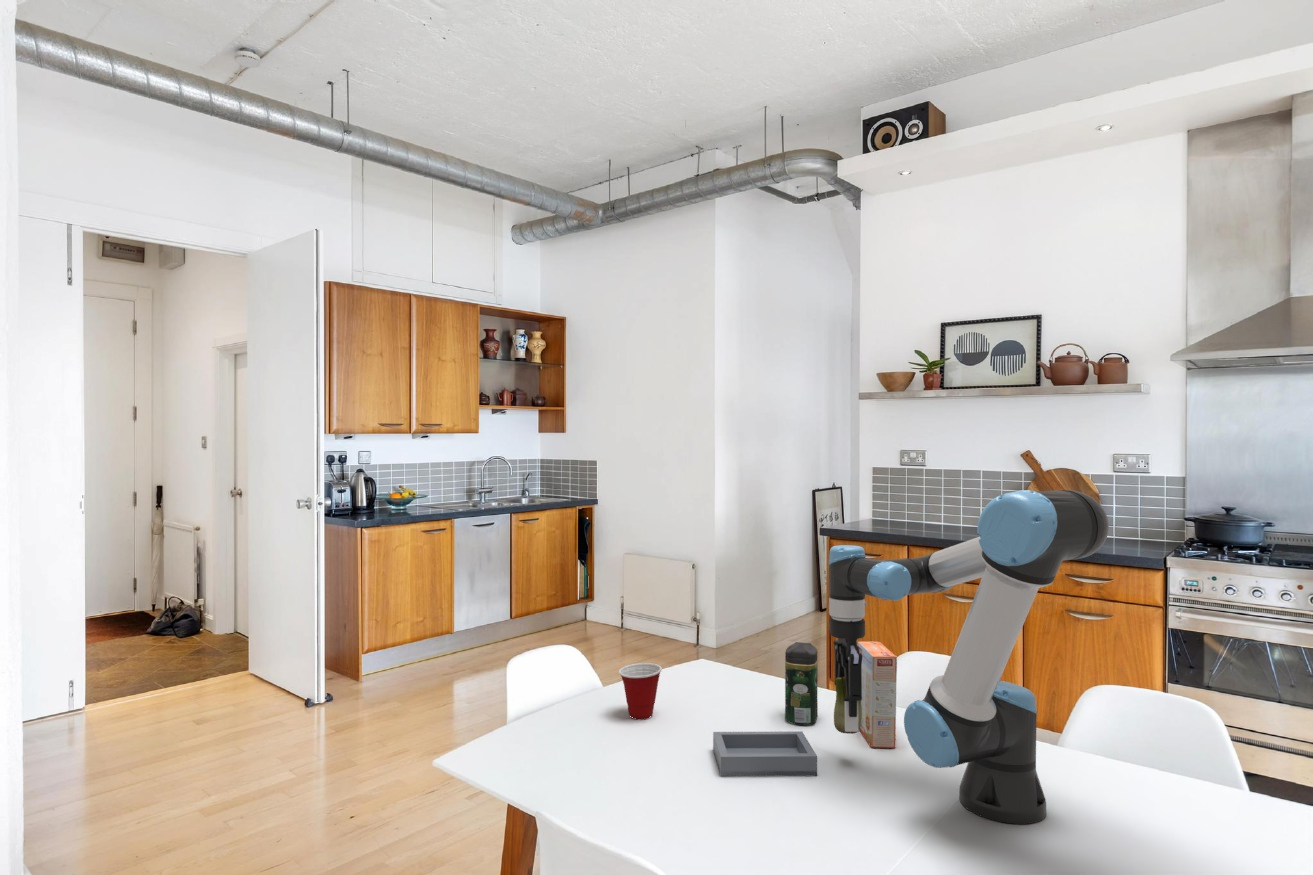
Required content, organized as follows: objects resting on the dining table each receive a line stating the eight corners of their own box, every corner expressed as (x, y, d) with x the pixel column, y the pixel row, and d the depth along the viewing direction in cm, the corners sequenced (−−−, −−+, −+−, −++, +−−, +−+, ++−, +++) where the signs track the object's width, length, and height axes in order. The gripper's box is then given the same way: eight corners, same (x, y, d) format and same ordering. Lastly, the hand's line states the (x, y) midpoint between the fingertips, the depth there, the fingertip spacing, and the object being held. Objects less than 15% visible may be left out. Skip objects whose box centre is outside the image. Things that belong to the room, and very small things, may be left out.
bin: (817, 775, 162) (817, 756, 162) (720, 776, 162) (720, 756, 162) (802, 749, 176) (802, 731, 176) (713, 749, 176) (713, 731, 176)
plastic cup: (613, 711, 201) (613, 663, 201) (653, 707, 204) (654, 660, 204) (624, 725, 190) (624, 675, 190) (667, 721, 194) (667, 672, 194)
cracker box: (897, 749, 177) (898, 656, 177) (870, 748, 177) (871, 655, 177) (881, 726, 191) (881, 640, 191) (856, 726, 191) (856, 640, 191)
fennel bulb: (862, 730, 171) (861, 674, 171) (861, 737, 166) (861, 680, 166) (834, 727, 172) (834, 672, 173) (833, 735, 168) (833, 678, 168)
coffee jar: (787, 711, 201) (788, 638, 202) (819, 715, 199) (819, 641, 199) (782, 724, 192) (782, 648, 192) (815, 728, 190) (815, 651, 190)
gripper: (877, 626, 161) (878, 741, 161) (852, 609, 179) (853, 713, 178) (841, 626, 161) (842, 741, 160) (819, 609, 179) (820, 713, 178)
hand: (847, 726), depth 169 cm, fingers closed on fennel bulb, 5 cm apart
